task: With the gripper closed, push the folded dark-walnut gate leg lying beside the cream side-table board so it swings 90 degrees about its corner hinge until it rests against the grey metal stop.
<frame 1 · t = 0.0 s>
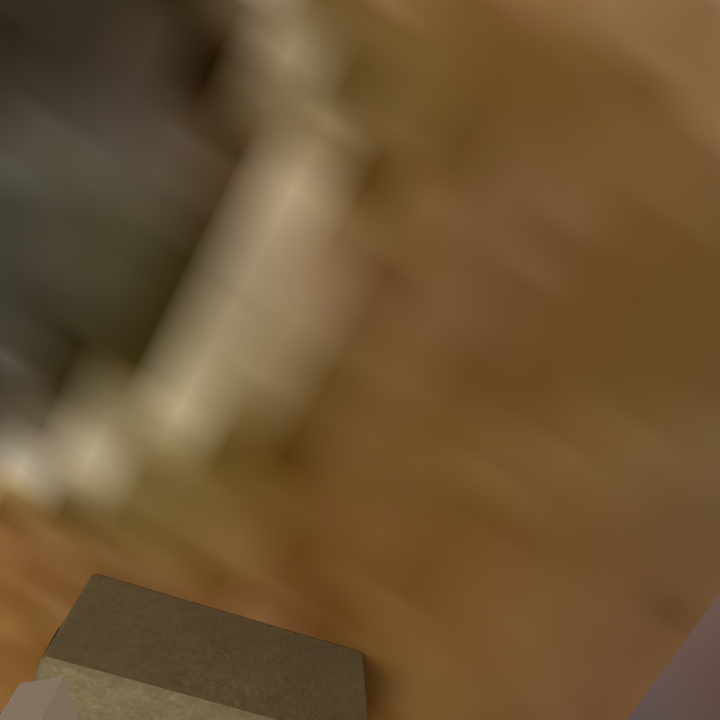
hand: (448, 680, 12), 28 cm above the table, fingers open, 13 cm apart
tissue box: (210, 671, 44), on the table
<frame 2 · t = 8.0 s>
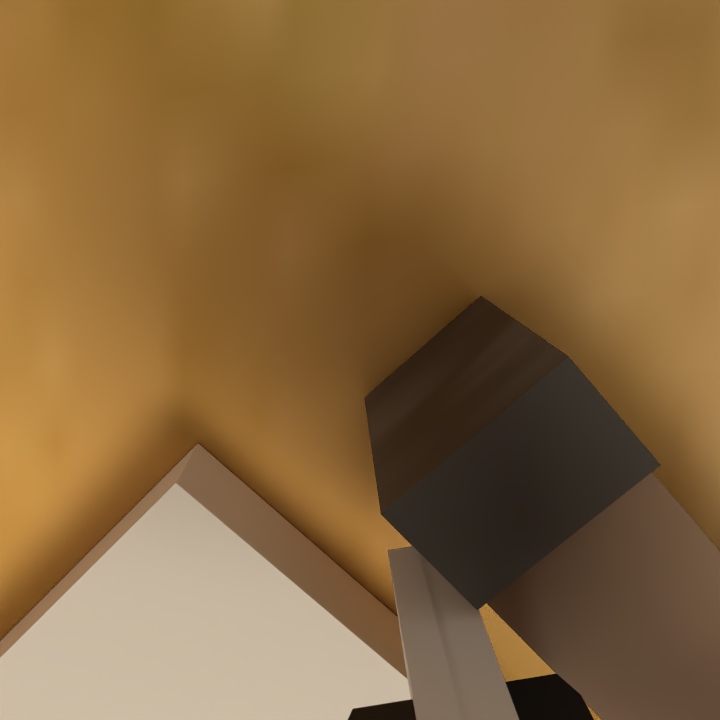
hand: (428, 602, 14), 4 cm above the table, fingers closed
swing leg: (674, 637, 15), point 3 cm above the table, hinge at 2.8°
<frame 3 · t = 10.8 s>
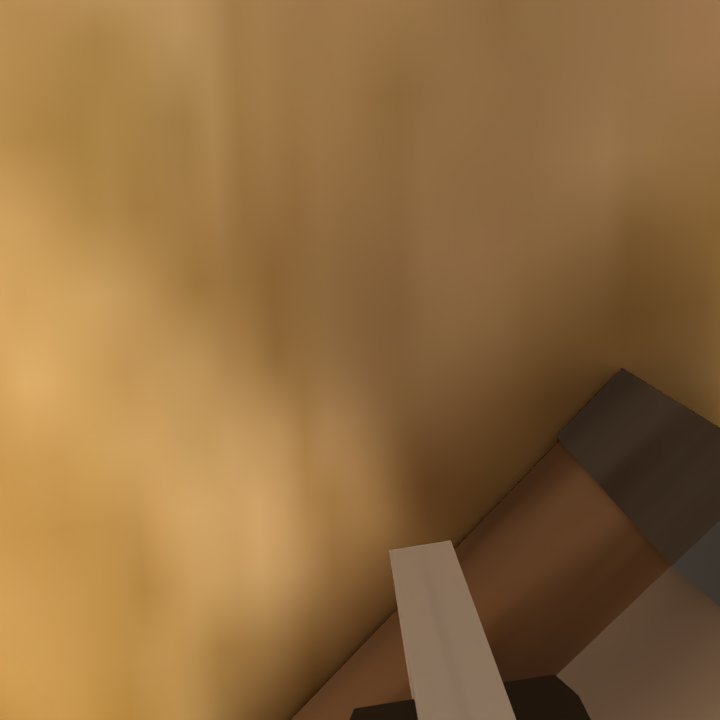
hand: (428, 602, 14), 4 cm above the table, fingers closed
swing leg: (483, 711, 15), point 3 cm above the table, hinge at 85.2°, touching gripper
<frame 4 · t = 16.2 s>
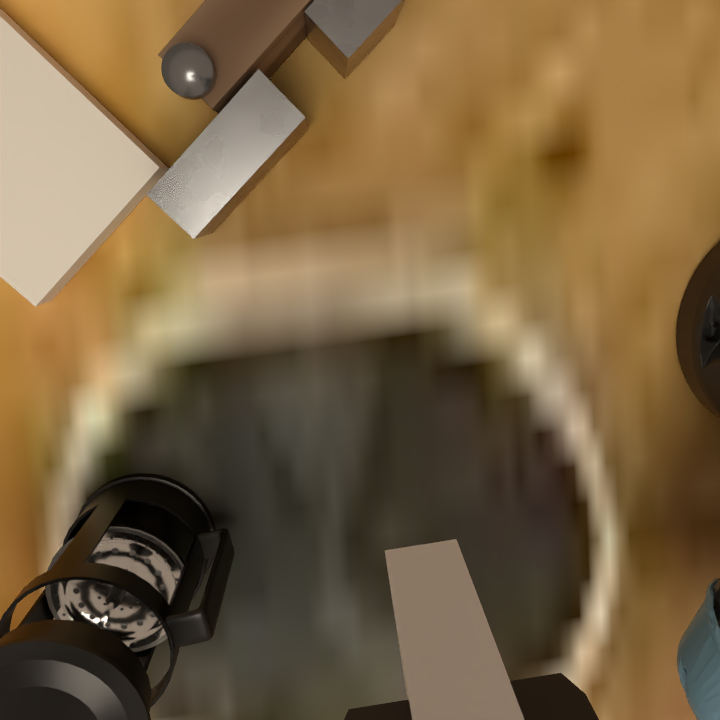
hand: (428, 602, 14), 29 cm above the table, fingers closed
french press: (155, 534, 45), on the table
hinge hardware: (213, 93, 39), on the table
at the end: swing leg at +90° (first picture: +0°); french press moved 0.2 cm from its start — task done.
